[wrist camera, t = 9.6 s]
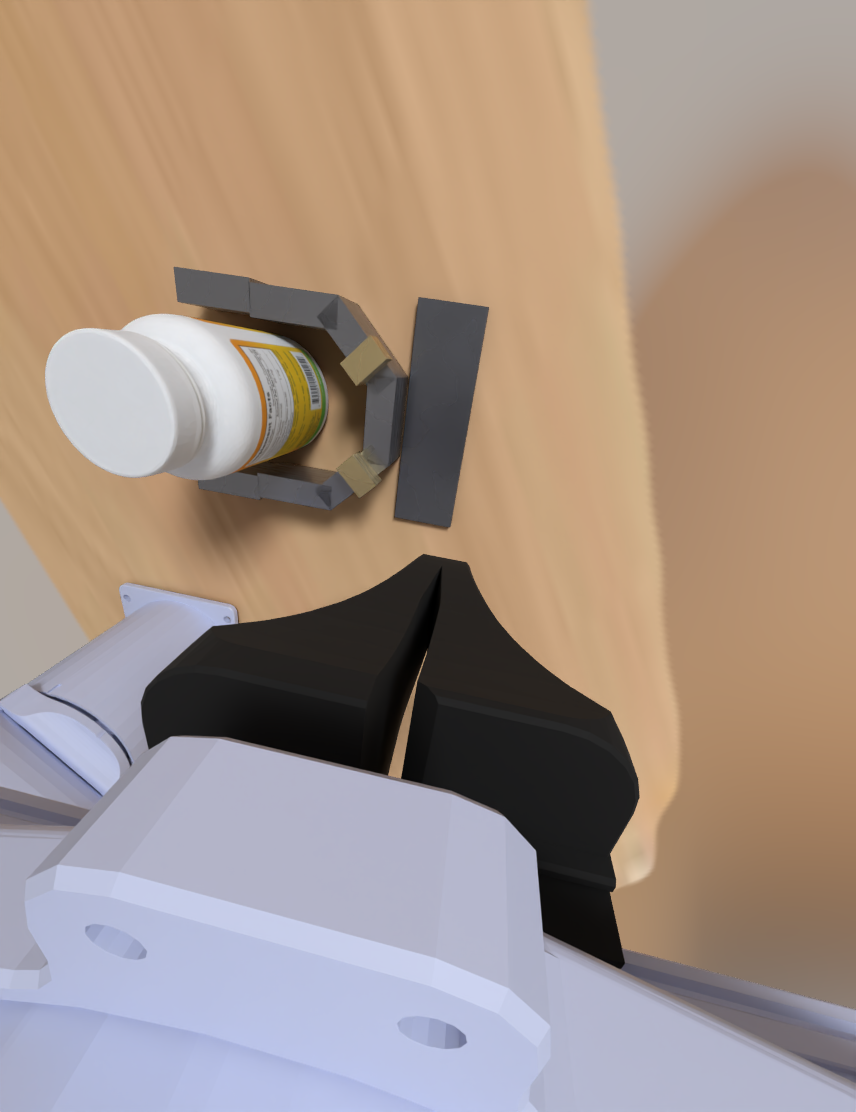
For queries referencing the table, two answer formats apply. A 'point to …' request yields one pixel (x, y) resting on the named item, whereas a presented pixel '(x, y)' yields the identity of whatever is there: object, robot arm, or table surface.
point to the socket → (432, 405)
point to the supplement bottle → (184, 396)
